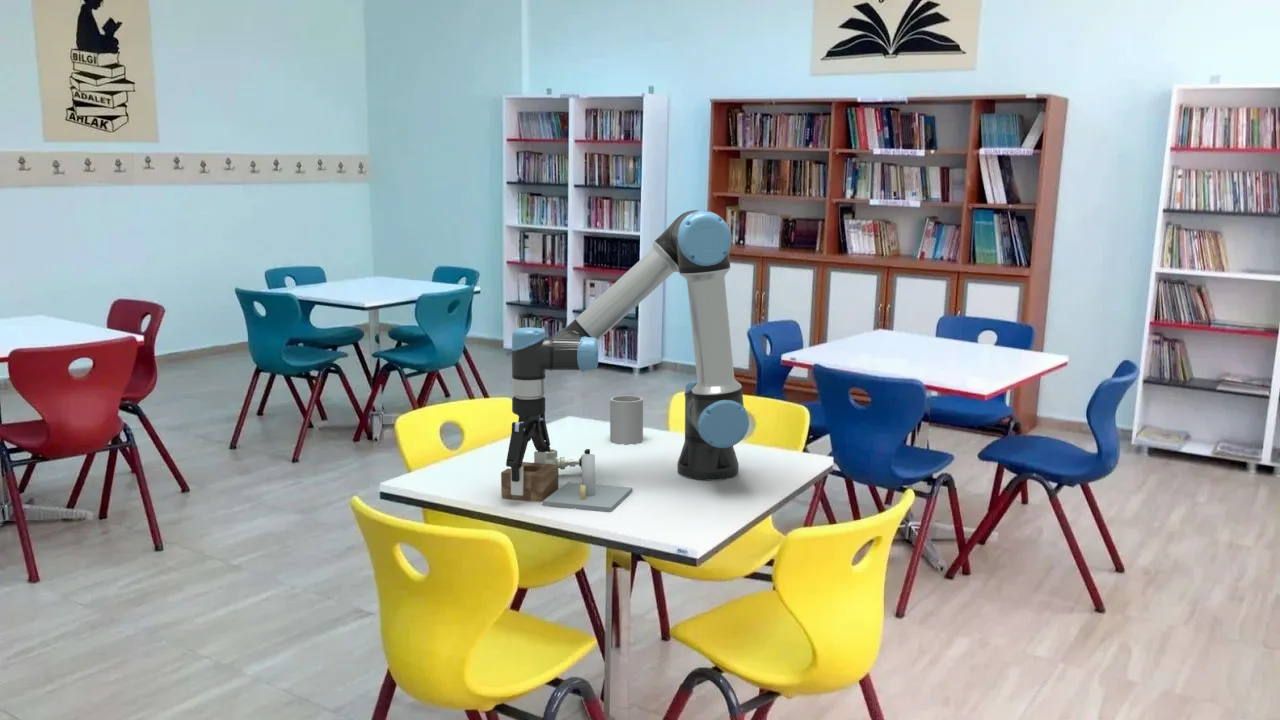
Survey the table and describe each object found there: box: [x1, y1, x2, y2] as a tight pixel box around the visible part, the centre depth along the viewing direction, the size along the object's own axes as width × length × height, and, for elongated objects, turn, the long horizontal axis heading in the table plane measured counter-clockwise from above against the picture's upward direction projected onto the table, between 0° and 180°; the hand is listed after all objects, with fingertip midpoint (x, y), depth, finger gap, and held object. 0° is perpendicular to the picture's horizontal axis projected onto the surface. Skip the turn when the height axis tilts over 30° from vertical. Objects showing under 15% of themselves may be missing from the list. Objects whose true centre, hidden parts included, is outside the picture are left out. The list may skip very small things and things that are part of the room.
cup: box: [609, 395, 644, 446], centre depth 287 cm, size 9×9×12 cm
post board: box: [541, 453, 634, 513], centre depth 234 cm, size 16×16×10 cm
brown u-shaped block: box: [500, 461, 560, 503], centre depth 237 cm, size 10×10×6 cm
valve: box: [545, 448, 591, 470], centre depth 252 cm, size 7×7×12 cm
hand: (529, 486), depth 238 cm, fingers open, 13 cm apart
